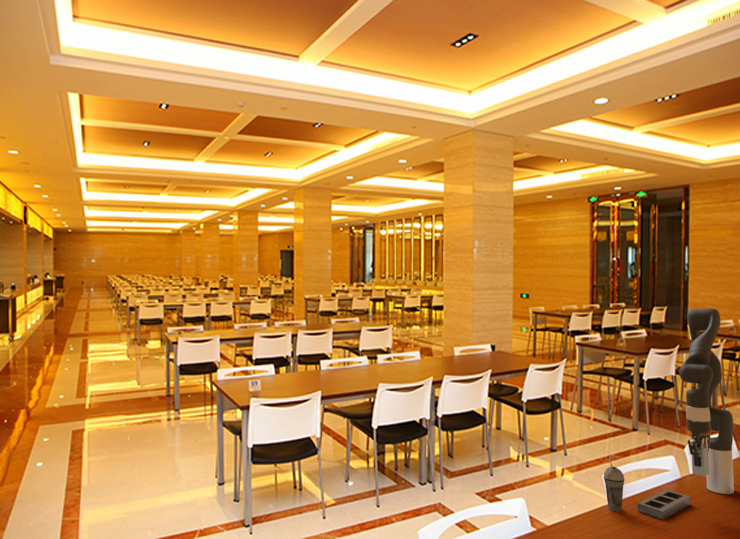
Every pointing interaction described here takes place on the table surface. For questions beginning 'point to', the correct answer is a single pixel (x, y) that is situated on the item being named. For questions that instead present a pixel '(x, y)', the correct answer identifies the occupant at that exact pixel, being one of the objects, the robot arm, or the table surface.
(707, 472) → the peg
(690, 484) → the table surface
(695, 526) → the table surface
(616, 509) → the beverage cup
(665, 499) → the grey slotted block
